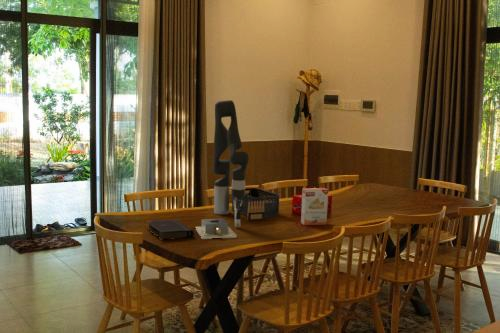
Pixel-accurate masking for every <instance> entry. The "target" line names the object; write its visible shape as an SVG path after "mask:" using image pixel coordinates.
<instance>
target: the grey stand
mask: <svg viewBox="0 0 500 333" xmlns="http://www.w3.org/2000/svg"><path fill="white" fill-rule="evenodd" d="M195 228H196V229H195V230H196V232H197V233H198V236H201V237H200V238H201V239H202V240H213V239H212V238H222V239H237V238H238V237H237V236H238V235H237V234H236V233H235V232H234V230H233V229H231V227H230V226H229V223H228V222H227V221H226V220H225V219H224V218H203V219H202V218H201V226H200V225H199V226H195Z"/></svg>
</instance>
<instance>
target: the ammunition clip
mask: <svg viewBox="0 0 500 333" xmlns="http://www.w3.org/2000/svg"><path fill="white" fill-rule="evenodd" d="M264 200H265V199H264ZM264 200H263V202H262V207H261V200H260V203H259V205H258V200H257V204H256V202H255V201H254V207H253V201H252V202H251V208H250V201H249V203H248V212H247V216H246V221H247V222H261V221H265V220H266V218H265V212H264Z"/></svg>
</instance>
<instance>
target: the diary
mask: <svg viewBox="0 0 500 333" xmlns="http://www.w3.org/2000/svg"><path fill="white" fill-rule="evenodd" d="M146 223H147V224H148V227H147V228H146V229H148V228H149V229H150V230H151V231H152V232H154V233H155V234H156V235H158V236H159V237H160V238H161V239H171V238H177V239H184V238H183V237H187V236H188V237H187V238H190V237H191V236H192V237H191V238H194V236H195V232H194V230H193V229H192V228H190V227H189V226H187V225H186V224H184V223H183V222H181V221H180V220H179V219H159V220H149V221H146Z"/></svg>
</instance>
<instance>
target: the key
mask: <svg viewBox="0 0 500 333" xmlns="http://www.w3.org/2000/svg"><path fill="white" fill-rule="evenodd" d="M234 206H235V204H234ZM237 207H238V206H237ZM239 210H240V209H239ZM236 213H237V212H236V208H235V211H234V227H235V228H236V227H237V228H238V227H239V228H240V227H241V219H238V220H237V219H236Z"/></svg>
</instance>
